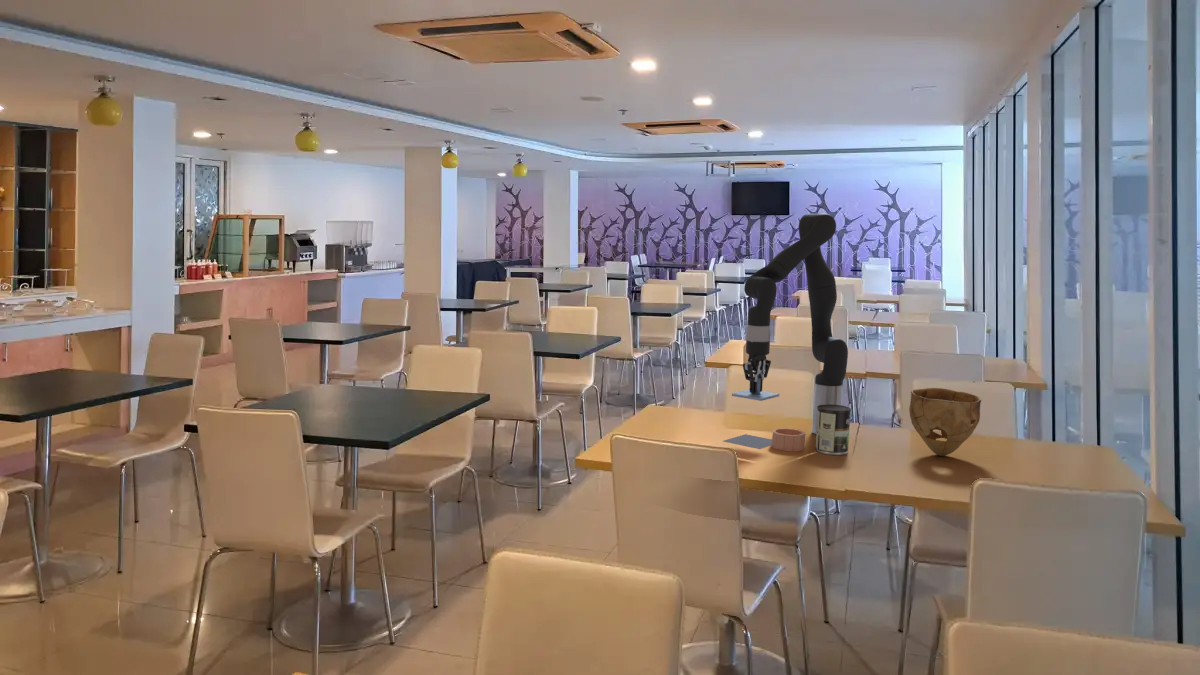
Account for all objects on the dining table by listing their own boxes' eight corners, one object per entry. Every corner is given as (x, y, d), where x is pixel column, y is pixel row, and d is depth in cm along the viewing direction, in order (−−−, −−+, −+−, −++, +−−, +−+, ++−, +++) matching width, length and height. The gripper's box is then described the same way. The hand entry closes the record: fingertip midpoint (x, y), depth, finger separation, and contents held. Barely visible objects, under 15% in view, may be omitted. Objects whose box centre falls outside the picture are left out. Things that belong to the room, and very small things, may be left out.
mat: (745, 435, 313) (745, 434, 313) (782, 443, 304) (782, 441, 304) (722, 442, 302) (722, 441, 302) (759, 450, 293) (759, 448, 293)
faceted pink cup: (782, 443, 304) (783, 426, 303) (810, 449, 297) (811, 432, 296) (765, 448, 296) (766, 431, 295) (794, 454, 290) (795, 437, 289)
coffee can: (847, 448, 299) (849, 405, 298) (849, 456, 289) (852, 411, 288) (814, 445, 301) (816, 403, 300) (815, 453, 291) (817, 409, 290)
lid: (750, 391, 309) (750, 374, 308) (779, 396, 301) (780, 378, 301) (731, 395, 300) (732, 378, 300) (761, 400, 293) (762, 382, 292)
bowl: (975, 452, 299) (979, 390, 296) (978, 467, 280) (983, 402, 277) (906, 445, 306) (911, 385, 303) (905, 459, 287) (909, 396, 284)
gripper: (759, 336, 306) (757, 388, 308) (736, 339, 296) (733, 393, 298) (779, 338, 301) (777, 391, 303) (756, 342, 291) (754, 396, 293)
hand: (755, 392), depth 301 cm, fingers closed on lid, 2 cm apart
